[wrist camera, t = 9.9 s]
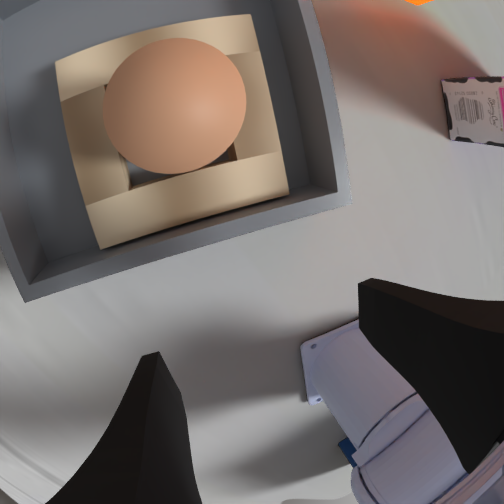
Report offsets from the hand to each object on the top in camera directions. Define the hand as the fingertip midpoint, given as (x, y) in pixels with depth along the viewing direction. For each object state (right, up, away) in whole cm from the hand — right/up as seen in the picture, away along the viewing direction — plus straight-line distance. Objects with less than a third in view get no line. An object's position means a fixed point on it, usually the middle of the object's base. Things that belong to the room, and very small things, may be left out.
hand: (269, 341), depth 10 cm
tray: (-7, +12, +4) cm, 15 cm away
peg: (-5, +10, +5) cm, 12 cm away
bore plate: (-5, +10, +5) cm, 12 cm away
